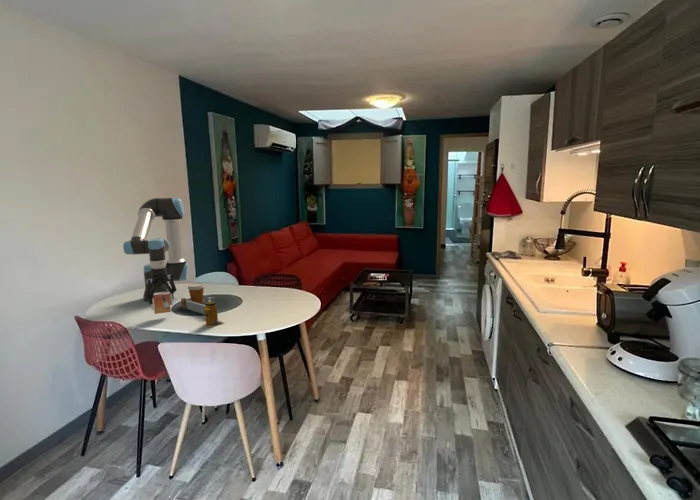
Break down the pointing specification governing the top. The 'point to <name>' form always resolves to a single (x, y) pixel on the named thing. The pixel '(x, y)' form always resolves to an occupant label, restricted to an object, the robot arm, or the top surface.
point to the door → (195, 306)
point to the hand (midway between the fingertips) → (162, 307)
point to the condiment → (211, 314)
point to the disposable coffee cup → (196, 292)
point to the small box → (162, 302)
